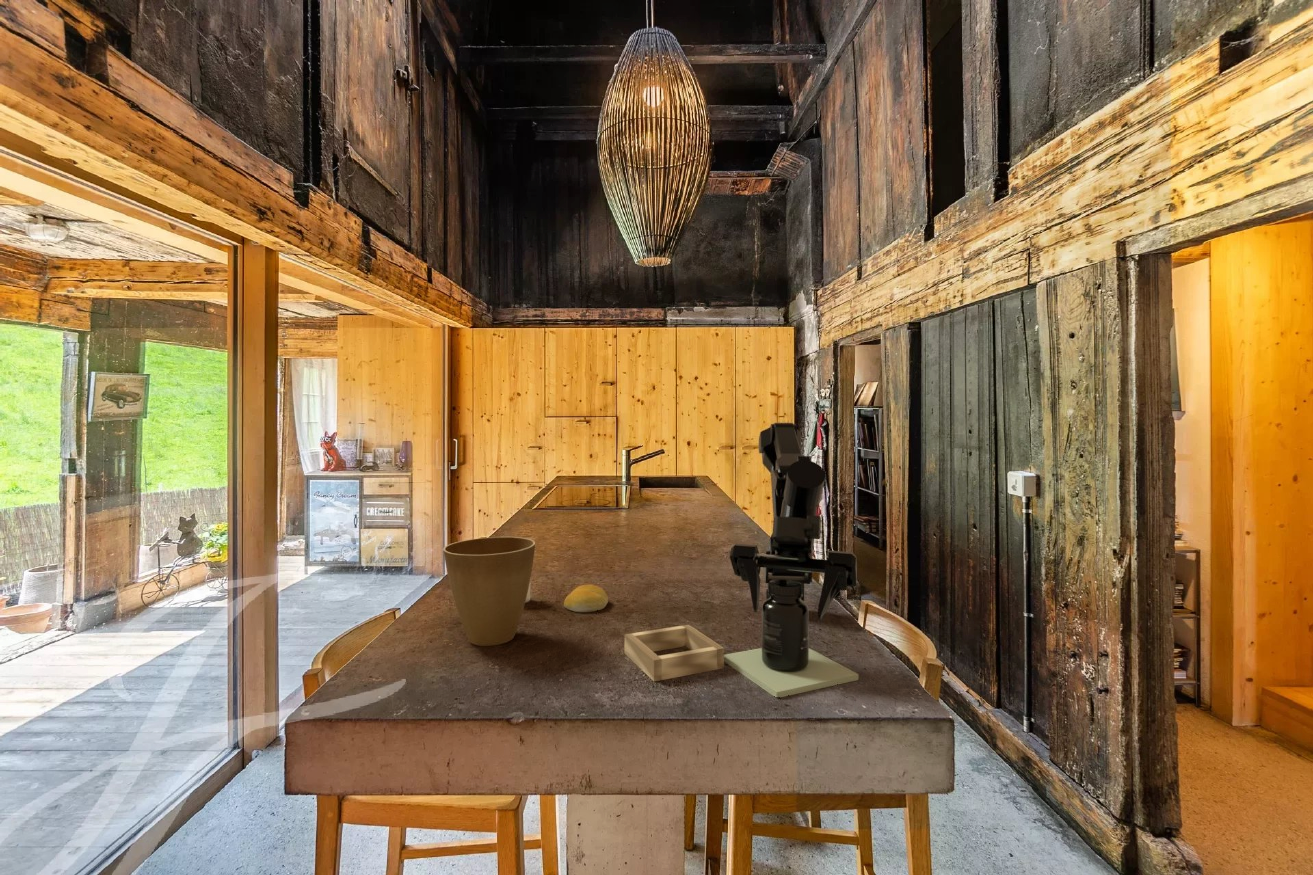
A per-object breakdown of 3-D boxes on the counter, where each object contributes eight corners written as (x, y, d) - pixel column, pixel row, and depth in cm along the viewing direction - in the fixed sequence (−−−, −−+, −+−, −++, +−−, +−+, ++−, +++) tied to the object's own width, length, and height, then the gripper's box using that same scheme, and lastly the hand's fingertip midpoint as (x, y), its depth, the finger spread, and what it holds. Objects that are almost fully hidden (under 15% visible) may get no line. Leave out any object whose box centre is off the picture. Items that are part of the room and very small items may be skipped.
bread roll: (559, 612, 115) (559, 592, 115) (574, 599, 124) (574, 580, 124) (600, 615, 114) (600, 594, 114) (612, 601, 123) (612, 582, 123)
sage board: (796, 646, 97) (796, 641, 97) (858, 679, 84) (858, 674, 84) (722, 660, 91) (722, 654, 91) (776, 698, 79) (776, 692, 79)
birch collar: (688, 642, 99) (688, 624, 99) (724, 668, 88) (724, 647, 88) (624, 653, 94) (624, 634, 94) (653, 681, 84) (653, 660, 84)
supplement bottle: (816, 671, 85) (816, 588, 85) (770, 674, 84) (770, 590, 84) (798, 653, 92) (798, 576, 92) (755, 656, 91) (755, 577, 91)
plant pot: (496, 618, 111) (496, 533, 111) (553, 635, 102) (553, 542, 102) (425, 642, 99) (424, 546, 99) (483, 662, 90) (482, 557, 90)
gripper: (732, 493, 94) (714, 579, 84) (856, 498, 88) (852, 592, 78) (743, 534, 102) (727, 617, 92) (858, 541, 95) (854, 632, 85)
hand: (786, 614), depth 87 cm, fingers open, 9 cm apart
